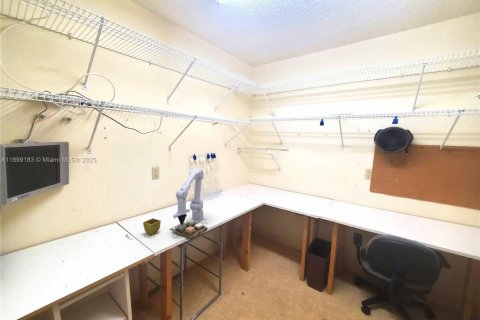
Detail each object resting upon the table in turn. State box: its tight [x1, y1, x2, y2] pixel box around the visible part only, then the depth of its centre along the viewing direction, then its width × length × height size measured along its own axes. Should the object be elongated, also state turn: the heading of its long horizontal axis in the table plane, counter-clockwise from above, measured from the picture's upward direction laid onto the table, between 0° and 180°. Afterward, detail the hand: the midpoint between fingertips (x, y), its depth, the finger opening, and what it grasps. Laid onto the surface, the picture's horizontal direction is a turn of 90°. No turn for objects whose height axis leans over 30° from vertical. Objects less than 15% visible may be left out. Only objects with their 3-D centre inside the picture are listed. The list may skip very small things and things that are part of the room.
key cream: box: [194, 222, 204, 228], centre depth 149 cm, size 4×4×2 cm
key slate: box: [177, 223, 186, 230], centre depth 145 cm, size 4×4×2 cm
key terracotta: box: [186, 226, 195, 233], centre depth 141 cm, size 4×4×2 cm
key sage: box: [185, 219, 195, 226], centre depth 153 cm, size 4×4×2 cm
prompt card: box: [169, 223, 180, 231], centre depth 154 cm, size 12×4×1 cm, turn 151°
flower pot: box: [142, 218, 162, 236], centre depth 143 cm, size 9×9×9 cm
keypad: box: [171, 223, 208, 241], centre depth 147 cm, size 18×18×4 cm
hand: (181, 224), depth 145 cm, fingers closed
